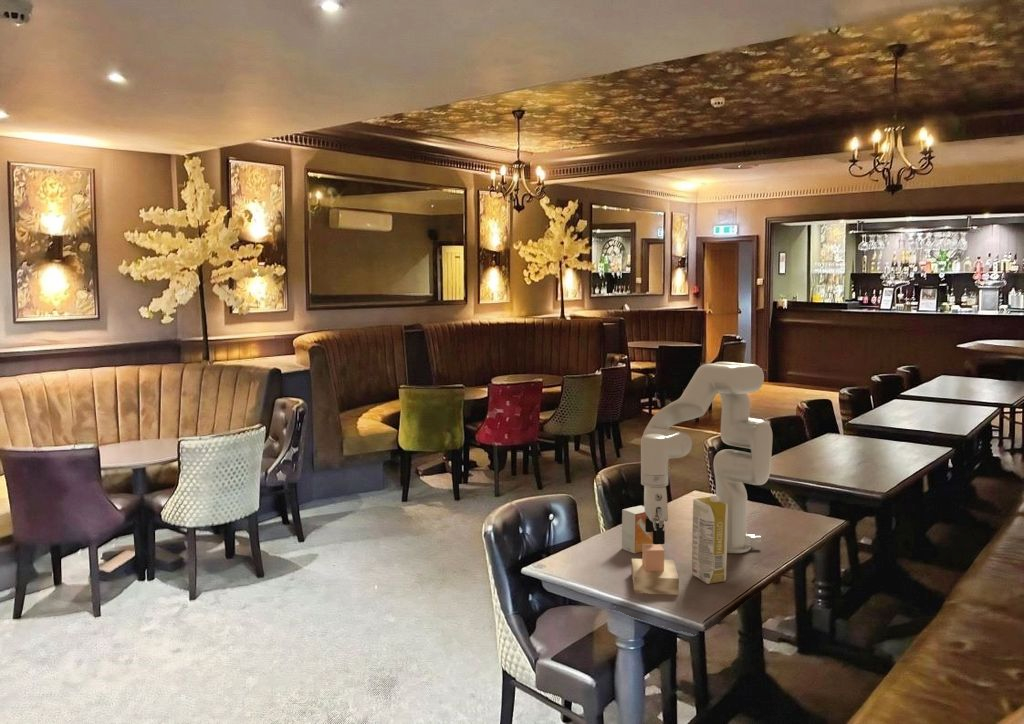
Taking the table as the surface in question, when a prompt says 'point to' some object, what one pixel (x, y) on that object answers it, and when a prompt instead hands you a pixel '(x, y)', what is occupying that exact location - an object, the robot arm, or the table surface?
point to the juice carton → (709, 539)
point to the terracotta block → (653, 557)
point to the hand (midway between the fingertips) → (654, 537)
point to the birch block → (655, 579)
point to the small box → (634, 529)
